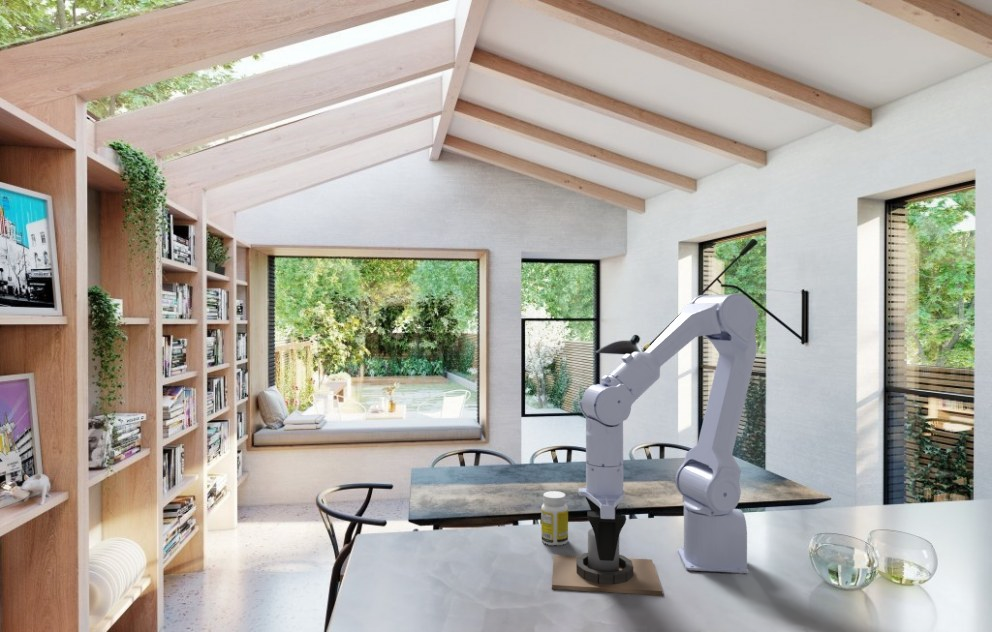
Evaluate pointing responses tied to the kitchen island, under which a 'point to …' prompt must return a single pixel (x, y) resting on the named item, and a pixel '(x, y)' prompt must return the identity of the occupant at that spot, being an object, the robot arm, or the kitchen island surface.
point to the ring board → (605, 576)
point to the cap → (594, 558)
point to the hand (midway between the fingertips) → (604, 549)
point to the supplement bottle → (554, 518)
